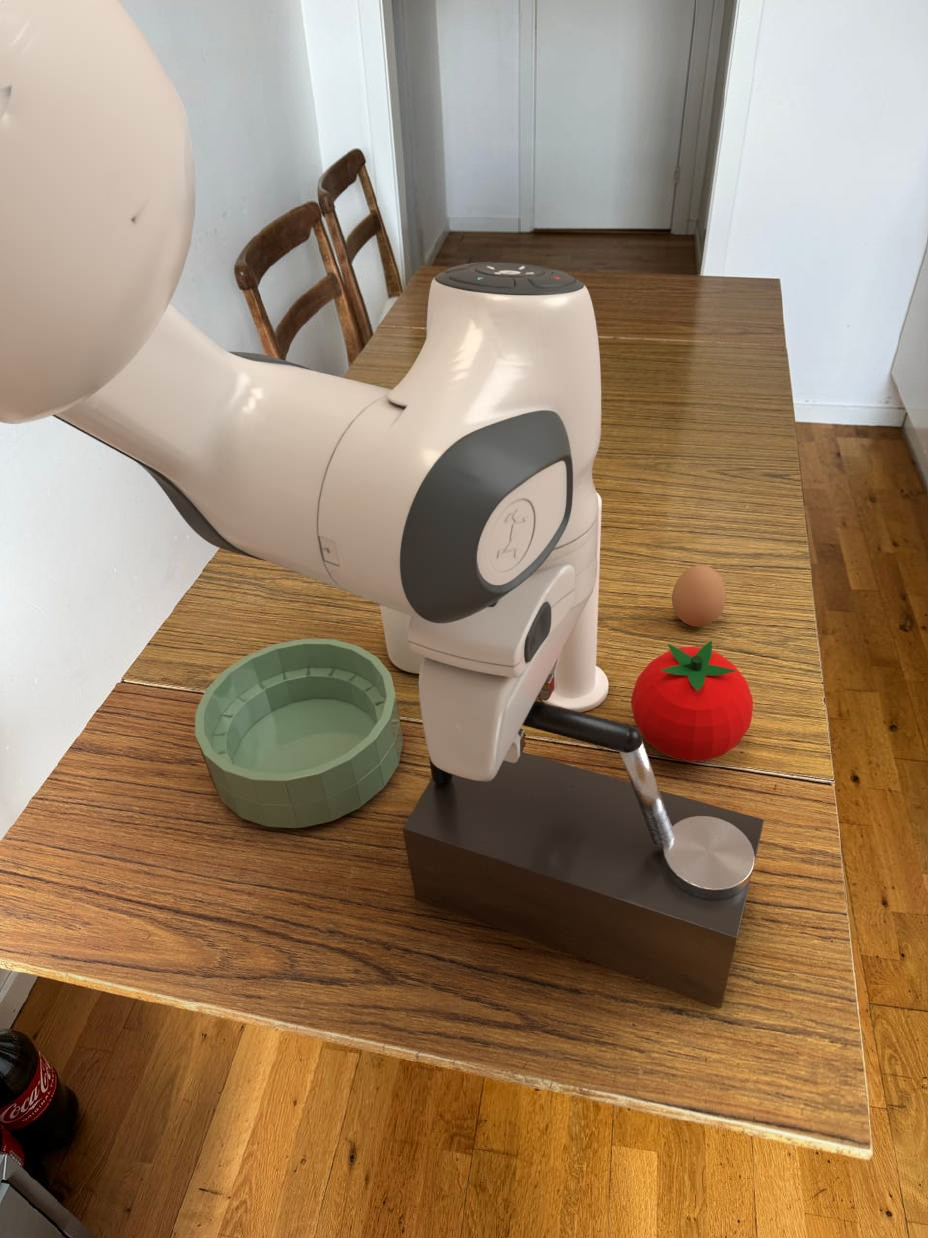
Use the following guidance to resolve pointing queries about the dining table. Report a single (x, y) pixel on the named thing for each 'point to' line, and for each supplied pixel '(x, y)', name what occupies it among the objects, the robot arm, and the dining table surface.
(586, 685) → the candle
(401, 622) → the beverage can
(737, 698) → the tomato
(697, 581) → the egg
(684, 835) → the black and silver ladle
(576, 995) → the dining table surface
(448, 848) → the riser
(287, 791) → the bowl
